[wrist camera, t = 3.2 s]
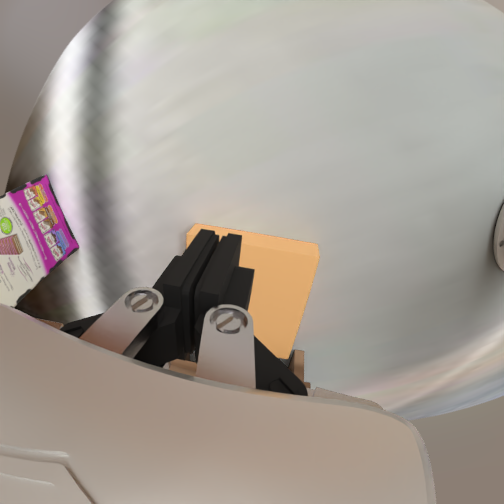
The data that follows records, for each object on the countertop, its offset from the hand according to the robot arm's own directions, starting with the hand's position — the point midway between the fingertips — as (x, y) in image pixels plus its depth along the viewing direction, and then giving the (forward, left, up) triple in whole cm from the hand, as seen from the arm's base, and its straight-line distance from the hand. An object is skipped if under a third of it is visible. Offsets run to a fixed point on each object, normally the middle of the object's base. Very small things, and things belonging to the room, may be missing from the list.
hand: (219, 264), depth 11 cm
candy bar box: (+7, -27, -15) cm, 31 cm away
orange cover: (+12, 0, -14) cm, 19 cm away
